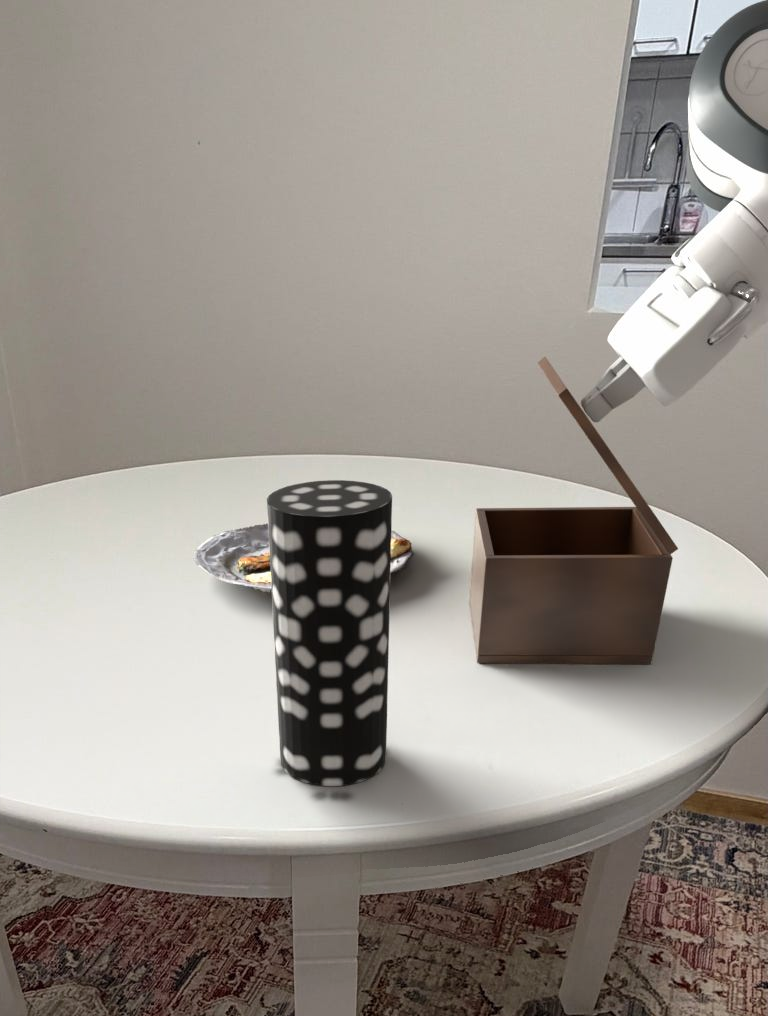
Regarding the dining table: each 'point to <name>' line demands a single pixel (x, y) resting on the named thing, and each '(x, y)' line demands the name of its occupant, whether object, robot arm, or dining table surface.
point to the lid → (607, 455)
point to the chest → (566, 585)
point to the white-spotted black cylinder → (331, 627)
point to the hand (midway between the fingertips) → (586, 413)
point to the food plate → (263, 556)
